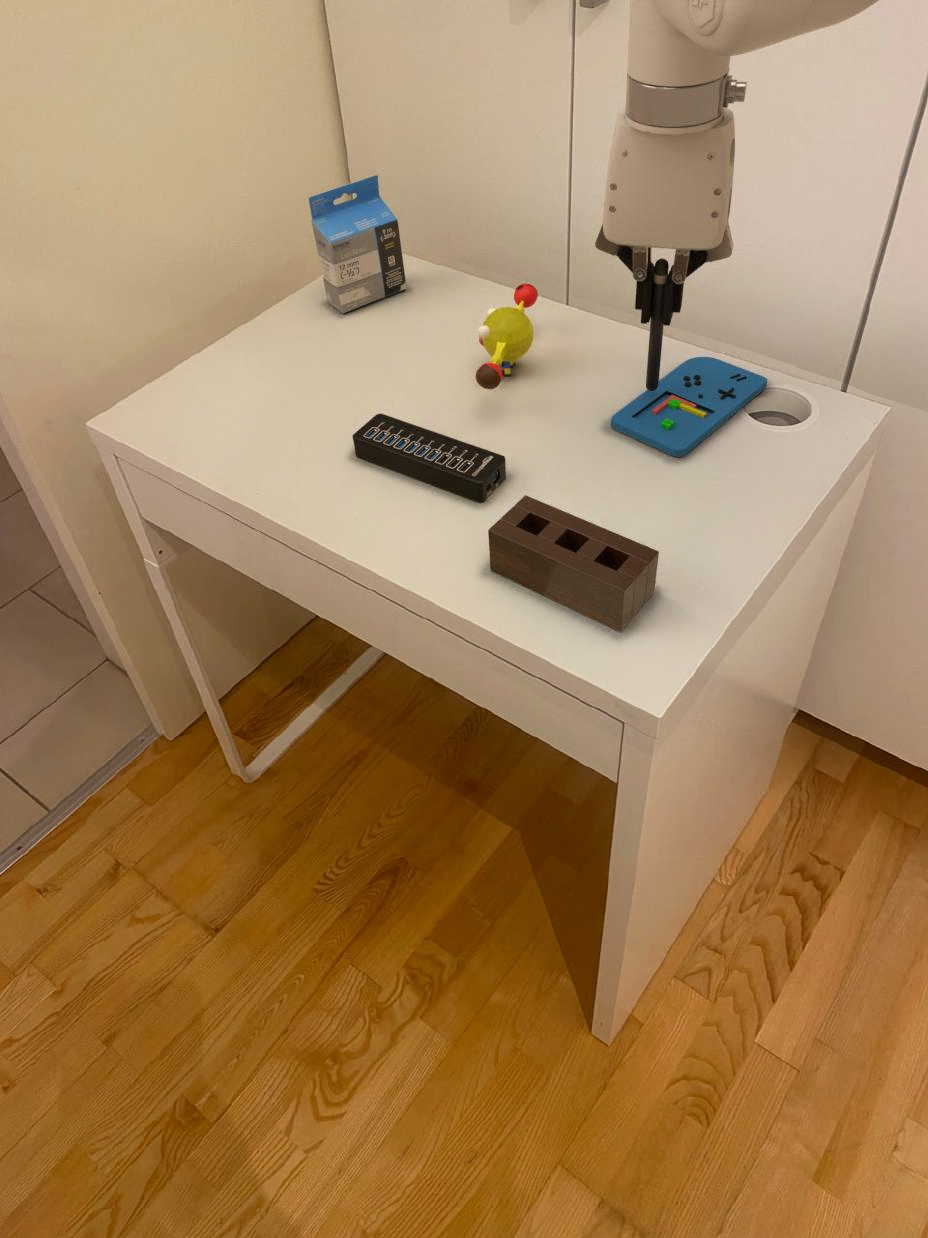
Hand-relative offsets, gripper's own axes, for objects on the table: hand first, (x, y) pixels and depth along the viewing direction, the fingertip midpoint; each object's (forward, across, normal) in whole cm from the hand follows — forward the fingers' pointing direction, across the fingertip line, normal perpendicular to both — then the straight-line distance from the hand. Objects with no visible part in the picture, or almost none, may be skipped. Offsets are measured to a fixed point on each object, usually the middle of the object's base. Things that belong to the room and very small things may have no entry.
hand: (657, 316), depth 87 cm
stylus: (+8, 0, 0) cm, 8 cm away
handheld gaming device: (+9, -4, 0) cm, 10 cm away
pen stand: (+10, +2, +26) cm, 28 cm away
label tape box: (+9, +36, -15) cm, 40 cm away
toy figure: (+9, +15, -3) cm, 18 cm away
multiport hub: (+10, +18, +14) cm, 25 cm away
